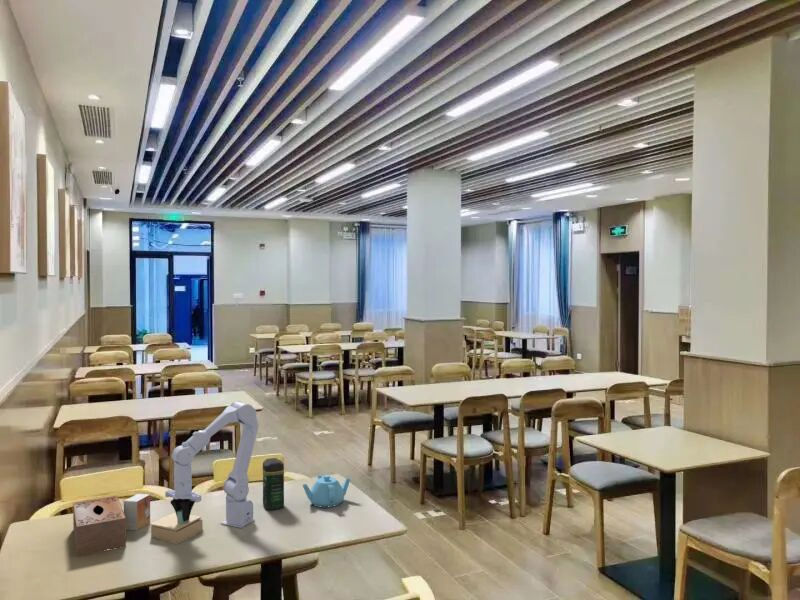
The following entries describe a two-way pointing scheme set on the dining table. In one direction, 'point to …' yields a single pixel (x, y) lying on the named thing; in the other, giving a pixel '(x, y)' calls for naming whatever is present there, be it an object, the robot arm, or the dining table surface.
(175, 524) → the tan flat square block
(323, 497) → the teapot
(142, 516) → the small box
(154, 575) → the dining table surface
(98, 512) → the tissue box cover
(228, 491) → the robot arm
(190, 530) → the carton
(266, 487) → the coffee jar
